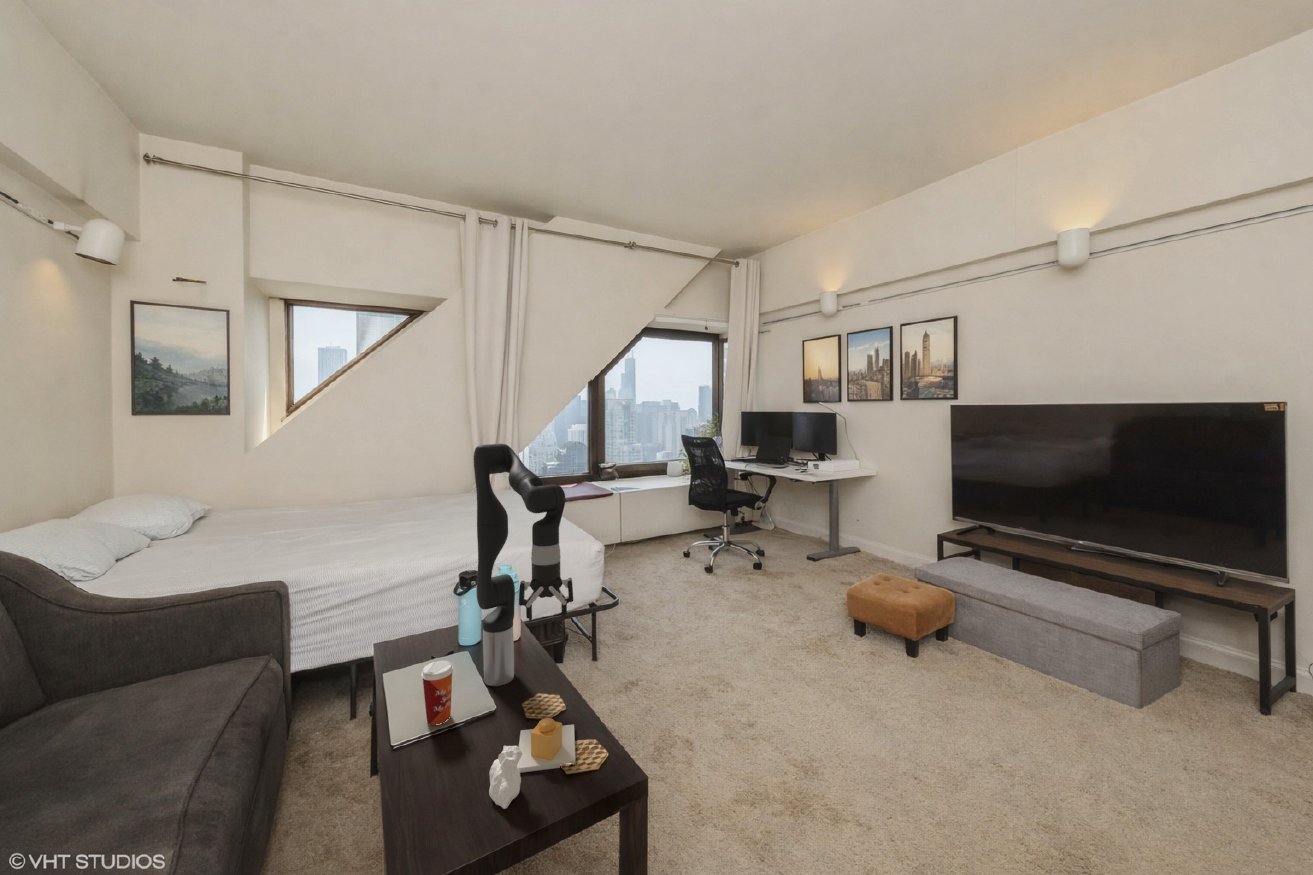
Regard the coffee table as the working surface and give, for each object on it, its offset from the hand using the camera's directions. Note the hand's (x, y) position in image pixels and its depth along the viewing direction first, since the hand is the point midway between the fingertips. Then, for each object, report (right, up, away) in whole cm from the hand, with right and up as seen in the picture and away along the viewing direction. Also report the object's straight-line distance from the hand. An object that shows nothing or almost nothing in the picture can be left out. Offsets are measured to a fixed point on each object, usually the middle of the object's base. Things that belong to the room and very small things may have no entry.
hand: (546, 618), depth 135 cm
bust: (-4, -32, -22) cm, 39 cm away
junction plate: (+2, -31, -8) cm, 32 cm away
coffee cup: (-31, -30, +4) cm, 43 cm away
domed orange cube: (+2, -30, -10) cm, 31 cm away
